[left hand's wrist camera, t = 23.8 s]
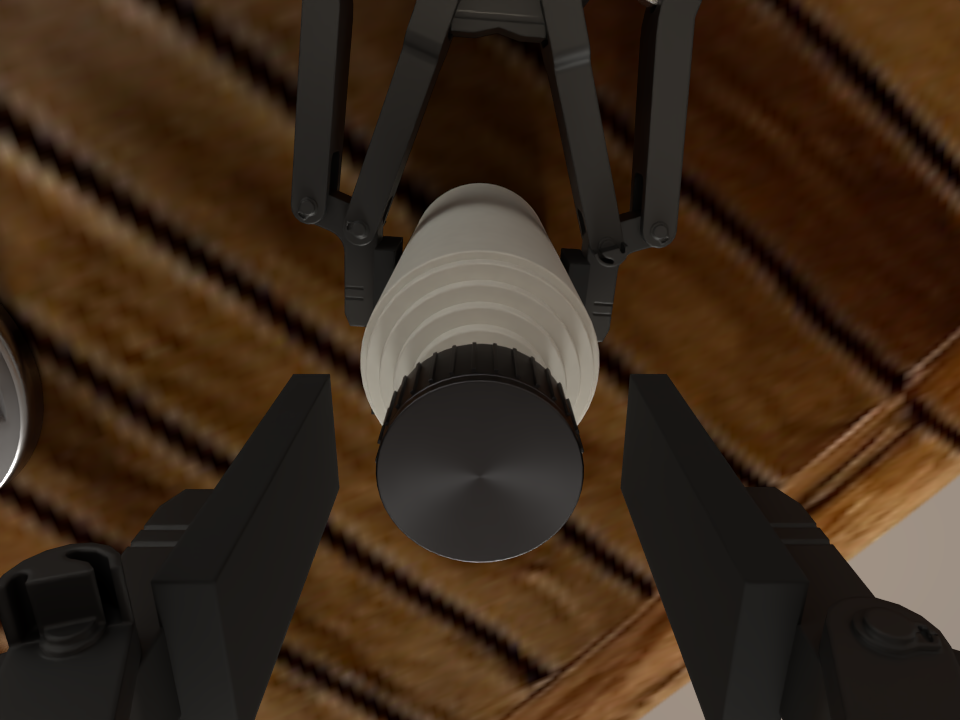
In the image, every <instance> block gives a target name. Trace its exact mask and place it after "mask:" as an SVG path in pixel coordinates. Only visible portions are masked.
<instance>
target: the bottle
mask: <svg viewBox="0 0 960 720" xmlns="http://www.w3.org/2000/svg"><path fill="white" fill-rule="evenodd" d="M472 342H476V344H493V343H497V345H499V346H504V347H508V348H511V349H513V348H516V349H517V351H519V352H521V353H523V354H525V355H527V356H529V357H531V356H533V357H534V358H535V361H537V362H538V363H539V364H541V365H542V366H543V367H544V368H545V369H546V368H548V369H549V370H550V372H551V375H552V376H553V377H554V379H555V380H556V381H557V383H559V382H560V383H561V384H562V387H563V391H564V394H565V398H566V399H568V398H569V400H570V403H571V407H572V410H573V413H574V416H575V420H576V423H577V425H578V424H579V423H580V421H581V420H582V418H583V416H584V415H585V413H586V411H587V409H588V408H589V405H590V403H591V400H592V398H593V396H594V392H595V389H596V385H597V381H598V373H599V349H598V343H597V337H596V334H595V330H594V327H593V324H592V321H591V319H590V317H589V315H588V313H587V311H586V309H585V307H584V305H583V303H582V301H581V299H580V297H579V295H578V293H577V291H576V289H575V288H574V286H573V284H572V282H571V280H570V278H569V276H568V274H567V272H566V270H565V268H564V266H563V264H562V262H561V260H560V258H559V256H558V254H557V252H556V251H555V249H554V247H553V245H552V243H551V241H550V239H549V237H548V235H547V233H546V231H545V229H544V227H543V225H542V223H541V221H540V219H539V217H538V216H537V214H536V213H535V211H534V210H533V209H532V207H531V206H530V205H529V204H528V203H527V202H526V201H525V200H524V199H523V198H521V197H520V196H519V195H517V194H516V193H514V192H512V191H510V190H508V189H506V188H504V187H500V186H497V185H493V184H486V183H474V184H467V185H463V186H459V187H456V188H454V189H451V190H450V191H448V192H446V193H444V194H443V195H441V196H440V197H439V198H437V199H436V200H435V201H434V202H433V203H432V204H431V205H430V206H429V207H428V208H427V210H426V211H425V212H424V214H423V216H422V217H421V219H420V221H419V223H418V225H417V227H416V229H415V231H414V233H413V235H412V236H411V238H410V240H409V242H408V244H407V246H406V248H405V250H404V252H403V254H402V256H401V258H400V260H399V262H398V264H397V266H396V268H395V269H394V271H393V273H392V275H391V277H390V279H389V281H388V283H387V285H386V287H385V289H384V291H383V293H382V295H381V297H380V299H379V301H378V303H377V304H376V306H375V308H374V310H373V312H372V314H371V317H370V319H369V321H368V324H367V326H366V329H365V333H364V337H363V340H362V348H361V375H362V381H363V386H364V389H365V393H366V396H367V399H368V401H369V403H370V405H371V408H372V410H373V412H374V413H375V415H376V417H377V418H378V420H379V421H380V423H381V424H382V426H383V422H384V419H385V416H386V412H387V409H388V408H389V406H390V402H391V399H392V396H393V393H394V391H398V389H399V387H400V385H401V383H402V380H403V377H404V376H405V375H406V376H408V375H409V374H410V373H411V372H412V371H413V370H414V368H416V364H417V363H418V362H420V363H422V362H423V361H424V360H426V359H428V358H429V357H431V356H433V353H434V352H437V353H439V352H441V351H443V350H446V349H449V348H452V346H453V345H456V346H461V345H467V344H472Z"/></svg>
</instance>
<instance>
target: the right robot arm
mask: <svg viewBox="0 0 960 720" xmlns="http://www.w3.org/2000/svg"><path fill="white" fill-rule="evenodd" d="M588 1H589V0H417V1H416V4H415V7H414V10H413V13H412V16H411V19H410V22H409V25H408V28H407V31H406V35H405V38H404V44H403V48H402V52H401V55H400V57H399V60H398V63H397V66H396V69H395V72H394V75H393V78H392V81H391V84H390V87H389V90H388V93H387V96H386V99H385V101H384V104H383V107H382V110H381V113H380V116H379V119H378V122H377V125H376V128H375V131H374V134H373V137H372V140H371V143H370V145H369V148H368V151H367V154H366V157H365V160H364V163H363V166H362V169H361V172H360V175H359V178H358V181H357V184H356V187H355V189H354V192H353V195H352V197H351V196H349V195H347V194H344V193H342V192H340V191H339V188H340V175H341V163H342V150H343V137H344V125H345V112H346V100H347V87H348V75H349V62H350V49H351V37H352V24H353V0H302V16H301V34H300V52H299V70H298V88H297V106H296V124H295V142H294V160H293V178H292V196H291V208H292V212H293V214H294V216H295V217H296V218H297V219H298V220H299V221H300V222H303V223H305V224H315V225H318V226H320V227H322V228H324V229H327V230H329V231H331V232H333V233H335V234H336V235H337V236H338V237H339V238H340V240H341V241H342V243H343V246H344V251H345V315H346V317H347V319H348V322H349V324H350V326H363V327H366V326H367V324H368V321H369V319H370V317H371V314H372V312H373V310H374V308H375V306H376V304H377V303H378V301H379V299H380V297H381V295H382V293H383V291H384V289H385V287H386V285H387V283H388V281H389V279H390V277H391V275H392V273H393V271H394V269H395V268H396V266H397V264H398V262H399V260H400V258H401V256H402V248H403V237H391V236H383V226H384V224H385V223H386V221H385V220H386V217H387V215H388V212H389V209H390V206H391V204H392V201H393V198H394V195H395V193H396V190H397V187H398V184H399V182H400V179H401V176H402V173H403V171H404V168H405V165H406V162H407V159H408V157H409V154H410V151H411V148H412V146H413V143H414V140H415V137H416V135H417V132H418V129H419V126H420V124H421V121H422V118H423V115H424V113H425V110H426V107H427V104H428V102H429V99H430V96H431V93H432V90H433V88H434V85H435V82H436V79H437V77H438V74H439V71H440V68H441V66H442V64H443V62H444V59H445V57H446V54H447V52H448V49H449V46H450V44H451V41H452V38H453V36H454V37H468V38H477V37H482V36H486V35H491V34H496V33H497V34H501V35H504V36H506V37H509V38H511V39H514V40H517V41H521V42H534V43H540V47H541V51H542V56H543V61H544V65H545V68H546V71H547V74H548V78H549V83H550V88H551V93H552V97H553V102H554V107H555V112H556V117H557V121H558V126H559V131H560V136H561V140H562V145H563V150H564V155H565V160H566V164H567V169H568V174H569V179H570V184H571V188H572V193H573V198H574V203H575V208H576V212H577V217H578V222H579V227H580V231H581V236H582V239H583V243H582V251H581V250H580V249H566V248H561V256H560V260H561V262H562V264H563V266H564V268H565V270H566V272H567V274H568V276H569V278H570V280H571V282H572V284H573V286H574V288H575V289H576V291H577V293H578V295H579V297H580V299H581V301H582V303H583V305H584V307H585V309H586V311H587V313H588V315H589V317H590V319H591V321H592V324H593V327H594V330H595V334H596V337H597V341H598V342H602V341H603V340H604V338H605V336H606V335H607V333H608V331H609V328H610V321H611V314H612V307H613V306H612V305H613V300H614V293H615V286H616V279H617V272H618V267H619V265H620V264H621V263H622V262H623V261H624V260H625V259H626V257H627V255H628V254H630V253H633V252H635V251H639V250H642V249H646V248H649V247H656V248H661V247H665V246H667V245H668V244H670V243H671V242H672V241H673V239H674V238H675V235H676V231H677V220H678V209H679V197H680V186H681V174H682V162H683V151H684V139H685V127H686V116H687V104H688V93H689V81H690V69H691V58H692V46H693V34H694V23H695V16H696V14H697V11H698V9H699V6H700V4H701V1H702V0H638V2H639V3H640V4H642V5H644V6H646V7H647V8H646V11H645V14H644V19H643V23H642V29H641V38H640V51H639V68H638V84H637V100H636V117H635V133H634V149H633V166H632V182H631V198H630V212H626V213H623V214H619V212H618V207H617V202H616V196H615V191H614V186H613V180H612V175H611V170H610V164H609V159H608V154H607V148H606V143H605V138H604V132H603V127H602V122H601V116H600V111H599V106H598V100H597V95H596V89H595V84H594V79H593V73H592V68H591V62H590V44H589V38H588V33H587V28H586V22H585V17H584V12H583V8H584V6H585V5H586V4H587V3H588ZM372 414H375V413H374V412H373V410H372Z"/></svg>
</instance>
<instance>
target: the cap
mask: <svg viewBox="0 0 960 720" xmlns="http://www.w3.org/2000/svg"><path fill="white" fill-rule="evenodd" d="M378 444H380V446H379V449H378V453H377V456H376V480H377V487H378V491H379V494H380V498H381V500H382V503H383V505H384V507H385V509H386V511H387V513H388V514H389V516H390V518H391V519H392V520H393V522H394V523H395V524H396V525H397V527H398V528H399V529H400V530H401V531H402V532H403V533H404V534H405V535H406V536H407V537H409V538H410V539H411V540H413V541H414V542H415V543H417V544H418V545H420V546H421V547H423V548H425V549H427V550H428V551H431V552H433V553H435V554H438V555H440V556H443V557H447V558H450V559H454V560H459V561H465V562H494V561H501V560H506V559H510V558H513V557H517V556H519V555H522V554H524V553H527V552H529V551H531V550H533V549H535V548H537V547H539V546H540V545H542V544H543V543H544V542H546V541H547V540H549V539H550V538H551V537H552V536H553V535H554V534H556V533H557V532H558V531H559V530H560V529H561V527H562V526H563V525H564V524H565V523H566V521H567V520H568V518H569V517H570V515H571V514H572V512H573V511H574V509H575V506H576V504H577V502H578V500H579V497H580V494H581V490H582V485H583V479H584V464H583V456H582V452H584V450H583V446H582V443H581V439H580V436H579V430H578V426H577V423H576V420H575V416H574V413H573V410H572V407H571V403H570V400H569V398H568V399H566V398H565V394H564V391H563V387H562V384H561V383H560V382H559V383H557V381H556V380H555V379H554V377H553V376H552V375H551V372H550V370H549V369H548V368H546V369H545V368H544V367H543V366H542V365H541V364H539V363H538V362H537V361H535V358H534V357H533V356H531V357H529V356H527V355H525V354H523V353H521V352H519V351H517V349H516V348H513V349H511V348H508V347H504V346H499V345H497V343H493V344H476V342H472V344H467V345H461V346H456V345H453V346H452V348H449V349H446V350H443V351H441V352H439V353H437V352H434V353H433V356H431V357H429V358H428V359H426V360H424V361H423V362H422V363H420V362H418V363H417V364H416V368H414V370H413V371H412V372H411V373H410V374H409V375H408V376H406V375H405V376H404V377H403V380H402V383H401V385H400V387H399V389H398V391H394V393H393V396H392V399H391V402H390V406H389V408H388V409H387V412H386V416H385V419H384V422H383V426H382V429H381V432H380V435H379V439H378Z"/></svg>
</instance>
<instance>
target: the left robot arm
mask: <svg viewBox="0 0 960 720" xmlns="http://www.w3.org/2000/svg"><path fill="white" fill-rule="evenodd" d="M42 421H43V393H42V386H41V381H40V377H39V373H38V369H37V366H36V363H35V360H34V358H33V355H32V353H31V351H30V348H29V346H28V344H27V342H26V340H25V338H24V337H23V335H22V333H21V331H20V330H19V328H18V326H17V325H16V323H15V322H14V321H13V319H12V318H11V316H10V315H9V313H8V312H7V311H6V310H5V308H4V307H3V306H2V305H1V304H0V489H1V488H2V487H3V486H5V485H6V484H7V483H8V482H10V481H11V480H12V479H13V478H14V477H15V476H16V475H17V474H18V473H19V472H20V471H21V470H22V468H23V467H24V466H25V465H26V463H27V462H28V460H29V459H30V457H31V455H32V453H33V451H34V449H35V447H36V445H37V442H38V439H39V436H40V432H41V427H42ZM338 490H339V478H338V466H337V454H336V442H335V431H334V419H333V407H332V395H331V383H330V374H293V375H292V377H291V378H290V380H289V381H288V383H287V384H286V386H285V387H284V389H283V390H282V391H281V393H280V394H279V396H278V397H277V399H276V400H275V402H274V403H273V404H272V406H271V407H270V409H269V410H268V412H267V413H266V415H265V416H264V418H263V419H262V420H261V422H260V423H259V425H258V426H257V428H256V429H255V431H254V432H253V433H252V435H251V436H250V438H249V439H248V441H247V442H246V444H245V445H244V447H243V448H242V449H241V451H240V452H239V454H238V455H237V457H236V458H235V460H234V461H233V462H232V464H231V465H230V467H229V468H228V470H227V471H226V473H225V474H224V476H223V477H222V478H221V480H220V481H219V483H218V484H217V486H216V487H215V489H185V490H184V491H182V492H181V493H179V494H178V495H176V496H175V497H173V498H172V499H170V500H169V501H167V502H166V503H164V504H163V505H161V506H160V507H159V508H158V509H157V511H156V512H155V513H154V514H153V516H152V517H151V518H150V519H149V521H148V522H147V523H146V524H145V526H144V530H141V531H140V532H139V533H138V534H137V536H136V537H135V538H134V539H133V541H132V542H131V547H127V548H126V550H125V551H124V552H123V553H122V555H121V556H120V554H119V553H118V552H117V551H116V550H114V549H113V548H112V547H111V546H107V545H102V544H97V543H80V544H69V545H65V546H62V547H58V548H54V549H50V550H46V551H44V552H42V553H40V554H37V555H35V556H33V557H31V558H28V559H26V560H24V561H22V562H21V563H19V564H18V565H16V566H15V567H13V568H12V569H11V570H9V571H8V572H6V573H5V574H3V576H2V577H1V578H0V619H1V622H2V626H3V629H4V632H5V635H6V639H7V642H8V645H9V649H8V651H7V652H5V653H2V654H0V720H255V717H256V714H257V712H258V709H259V706H260V703H261V701H262V698H263V695H264V692H265V690H266V687H267V684H268V682H269V679H270V676H271V673H272V671H273V668H274V665H275V662H276V660H277V657H278V654H279V651H280V649H281V646H282V643H283V641H284V638H285V635H286V632H287V630H288V627H289V624H290V621H291V619H292V616H293V613H294V610H295V608H296V605H297V602H298V600H299V597H300V594H301V591H302V589H303V586H304V583H305V580H306V578H307V575H308V572H309V569H310V567H311V564H312V561H313V559H314V556H315V553H316V550H317V548H318V545H319V542H320V539H321V537H322V534H323V531H324V529H325V526H326V523H327V520H328V518H329V515H330V512H331V509H332V507H333V504H334V501H335V498H336V496H337V493H338ZM621 490H622V493H623V496H624V498H625V501H626V504H627V507H628V509H629V512H630V515H631V518H632V520H633V523H634V526H635V529H636V531H637V534H638V537H639V539H640V542H641V545H642V548H643V550H644V553H645V556H646V559H647V561H648V564H649V567H650V570H651V572H652V575H653V578H654V580H655V583H656V586H657V589H658V591H659V594H660V597H661V600H662V602H663V605H664V608H665V610H666V613H667V616H668V619H669V621H670V624H671V627H672V630H673V632H674V635H675V638H676V641H677V643H678V646H679V649H680V651H681V654H682V657H683V660H684V662H685V665H686V668H687V671H688V673H689V676H690V679H691V682H692V684H693V687H694V690H695V692H696V695H697V698H698V701H699V703H700V706H701V709H702V711H703V714H704V717H705V720H781V718H782V720H960V651H958V650H955V649H952V648H951V646H950V644H949V643H948V642H947V640H946V639H945V637H944V636H943V634H942V633H941V632H940V630H938V629H937V628H936V627H935V626H933V625H932V624H931V623H930V622H928V621H927V620H926V619H925V618H923V617H922V616H921V615H919V614H917V613H915V612H913V611H911V610H909V609H907V608H905V607H903V606H901V605H899V604H895V603H892V602H889V601H885V600H882V599H878V598H875V597H874V595H873V594H872V593H871V592H870V590H869V589H868V588H867V587H866V585H865V584H864V583H863V582H862V580H861V579H860V578H859V577H858V575H857V574H856V573H855V572H854V570H853V569H852V568H851V566H850V565H849V564H848V563H847V561H846V560H845V559H844V558H843V556H842V555H841V554H840V553H839V551H838V550H837V549H836V548H835V546H834V545H833V544H830V543H829V539H828V538H827V536H826V535H825V534H824V533H823V531H822V530H821V529H820V528H817V527H816V523H815V521H814V520H813V519H812V518H811V516H810V515H809V514H808V513H807V511H806V510H805V509H804V508H803V507H802V505H801V504H800V503H798V502H797V501H795V500H794V499H792V498H791V497H789V496H787V495H786V494H784V493H783V492H781V491H780V490H778V489H777V488H775V487H744V486H743V484H742V483H741V481H740V480H739V478H738V477H737V476H736V474H735V473H734V471H733V470H732V468H731V467H730V465H729V464H728V462H727V461H726V460H725V458H724V457H723V455H722V454H721V452H720V451H719V449H718V448H717V447H716V445H715V444H714V442H713V441H712V439H711V438H710V436H709V435H708V433H707V432H706V431H705V429H704V428H703V426H702V425H701V423H700V422H699V420H698V419H697V418H696V416H695V415H694V413H693V412H692V410H691V409H690V407H689V406H688V404H687V403H686V402H685V400H684V399H683V397H682V396H681V394H680V393H679V391H678V390H677V389H676V387H675V386H674V384H673V383H672V381H671V380H670V378H669V377H668V375H667V374H630V383H629V395H628V407H627V419H626V431H625V442H624V454H623V466H622V478H621Z"/></svg>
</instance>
